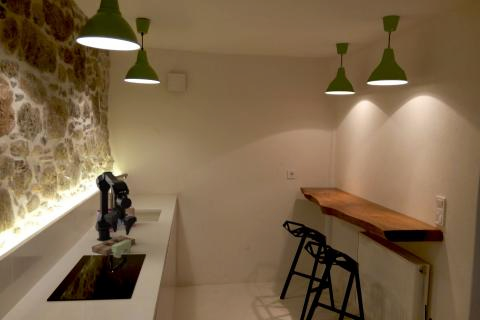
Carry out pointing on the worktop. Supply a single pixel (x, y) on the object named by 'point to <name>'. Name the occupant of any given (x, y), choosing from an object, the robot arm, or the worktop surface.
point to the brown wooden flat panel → (110, 245)
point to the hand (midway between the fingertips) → (121, 233)
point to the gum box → (130, 212)
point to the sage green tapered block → (121, 248)
